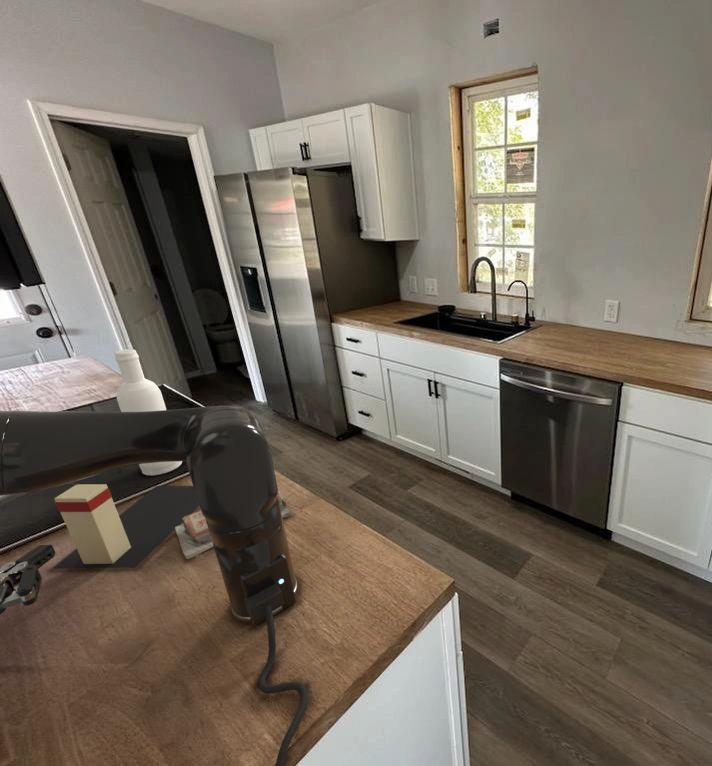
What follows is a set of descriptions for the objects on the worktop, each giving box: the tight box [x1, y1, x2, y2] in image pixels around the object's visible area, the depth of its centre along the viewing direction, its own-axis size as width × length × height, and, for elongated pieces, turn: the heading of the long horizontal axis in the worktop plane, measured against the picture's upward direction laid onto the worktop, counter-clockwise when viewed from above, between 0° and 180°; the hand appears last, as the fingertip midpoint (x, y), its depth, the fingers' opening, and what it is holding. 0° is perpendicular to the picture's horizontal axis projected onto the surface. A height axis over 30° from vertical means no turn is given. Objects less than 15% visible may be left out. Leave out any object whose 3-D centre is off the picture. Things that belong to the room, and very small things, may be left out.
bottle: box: [113, 348, 183, 476], centre depth 96 cm, size 8×8×30 cm
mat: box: [52, 485, 200, 569], centre depth 83 cm, size 24×14×1 cm, turn 2°
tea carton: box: [53, 483, 131, 564], centre depth 72 cm, size 4×5×14 cm
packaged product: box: [174, 491, 292, 560], centre depth 83 cm, size 18×5×10 cm
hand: (48, 549), depth 65 cm, fingers closed
